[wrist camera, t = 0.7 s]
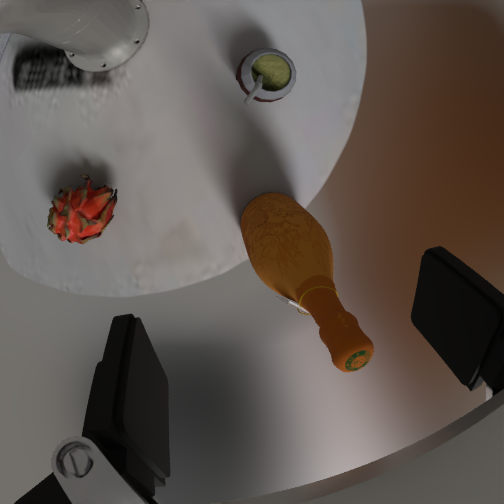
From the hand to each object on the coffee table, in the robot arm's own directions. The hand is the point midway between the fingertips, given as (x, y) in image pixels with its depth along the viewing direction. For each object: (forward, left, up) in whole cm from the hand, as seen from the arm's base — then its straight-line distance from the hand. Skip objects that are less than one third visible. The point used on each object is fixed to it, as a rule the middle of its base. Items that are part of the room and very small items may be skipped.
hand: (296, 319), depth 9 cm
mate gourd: (0, +12, -37) cm, 39 cm away
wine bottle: (+12, -5, -37) cm, 39 cm away
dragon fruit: (-14, -14, -37) cm, 42 cm away
